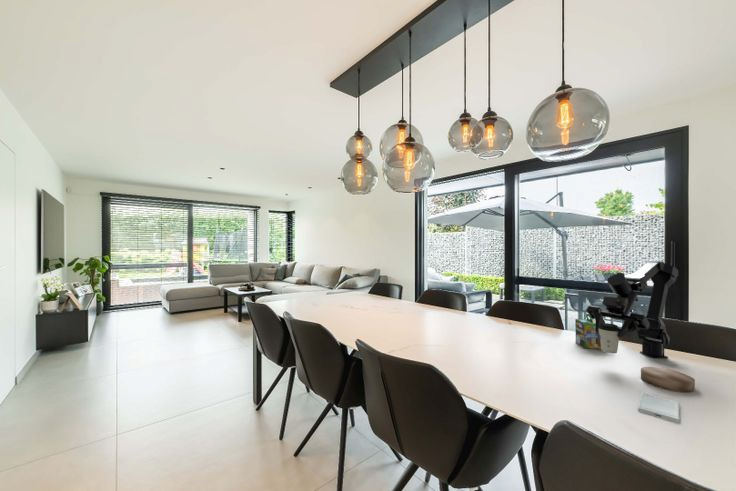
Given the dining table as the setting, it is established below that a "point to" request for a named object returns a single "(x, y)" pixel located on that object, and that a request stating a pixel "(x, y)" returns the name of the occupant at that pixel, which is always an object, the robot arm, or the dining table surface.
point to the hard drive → (659, 407)
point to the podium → (667, 379)
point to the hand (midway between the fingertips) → (607, 334)
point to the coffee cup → (609, 337)
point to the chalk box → (587, 333)
